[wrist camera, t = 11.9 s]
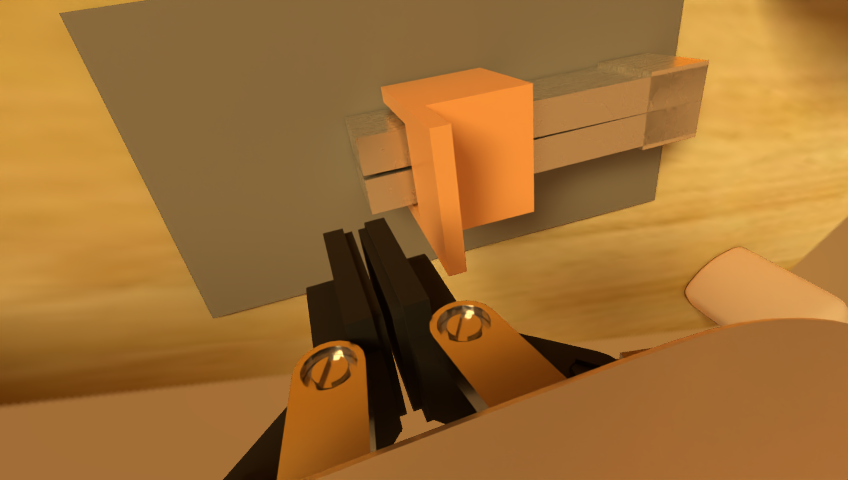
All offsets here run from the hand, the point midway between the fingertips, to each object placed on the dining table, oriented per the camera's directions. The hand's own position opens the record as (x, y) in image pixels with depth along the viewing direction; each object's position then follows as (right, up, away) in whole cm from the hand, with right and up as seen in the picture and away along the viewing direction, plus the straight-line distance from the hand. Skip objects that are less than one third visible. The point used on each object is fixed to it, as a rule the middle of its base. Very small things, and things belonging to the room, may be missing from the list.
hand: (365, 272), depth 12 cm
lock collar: (+2, +6, +10) cm, 12 cm away
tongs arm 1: (+6, +6, +11) cm, 14 cm away
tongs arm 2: (+6, +8, +10) cm, 14 cm away
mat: (+2, +7, +11) cm, 13 cm away
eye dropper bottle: (+24, -2, +22) cm, 33 cm away
